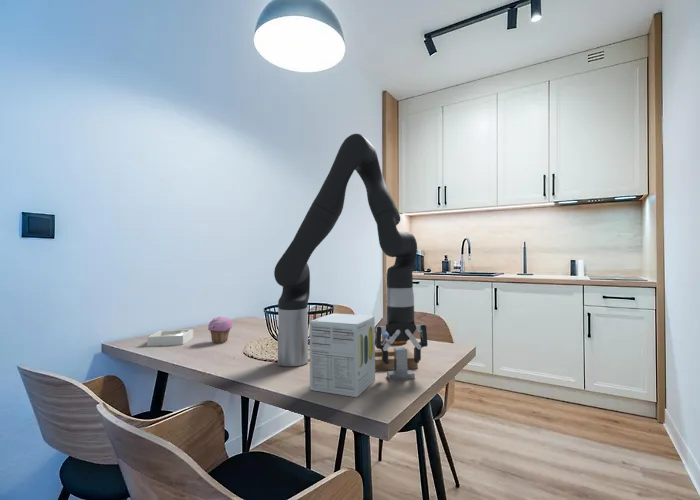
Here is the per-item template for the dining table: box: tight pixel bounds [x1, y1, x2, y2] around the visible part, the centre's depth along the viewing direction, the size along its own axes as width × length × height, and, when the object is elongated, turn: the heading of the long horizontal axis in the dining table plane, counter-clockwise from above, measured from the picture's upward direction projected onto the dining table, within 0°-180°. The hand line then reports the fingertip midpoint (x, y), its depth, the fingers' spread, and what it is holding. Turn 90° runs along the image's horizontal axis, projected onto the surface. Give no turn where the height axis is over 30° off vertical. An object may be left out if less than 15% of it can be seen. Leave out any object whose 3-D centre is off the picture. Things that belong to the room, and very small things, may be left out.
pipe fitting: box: [164, 331, 186, 336], centre depth 145 cm, size 8×4×7 cm
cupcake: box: [207, 316, 233, 344], centre depth 143 cm, size 9×9×10 cm
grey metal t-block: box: [386, 346, 416, 381], centre depth 100 cm, size 7×3×8 cm, turn 96°
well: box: [375, 348, 419, 371], centre depth 112 cm, size 20×11×3 cm, turn 96°
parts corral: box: [146, 328, 194, 347], centre depth 145 cm, size 13×12×4 cm
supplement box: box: [309, 312, 376, 398], centre depth 95 cm, size 13×13×18 cm
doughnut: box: [381, 330, 407, 345], centre depth 141 cm, size 10×10×5 cm
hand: (401, 362), depth 100 cm, fingers open, 8 cm apart
